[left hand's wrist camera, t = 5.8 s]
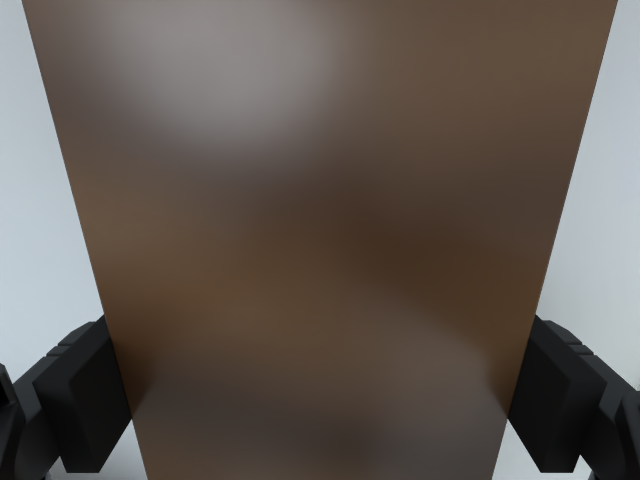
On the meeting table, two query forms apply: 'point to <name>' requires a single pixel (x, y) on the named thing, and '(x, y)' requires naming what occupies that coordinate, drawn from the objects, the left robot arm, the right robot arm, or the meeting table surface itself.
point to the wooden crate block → (319, 218)
